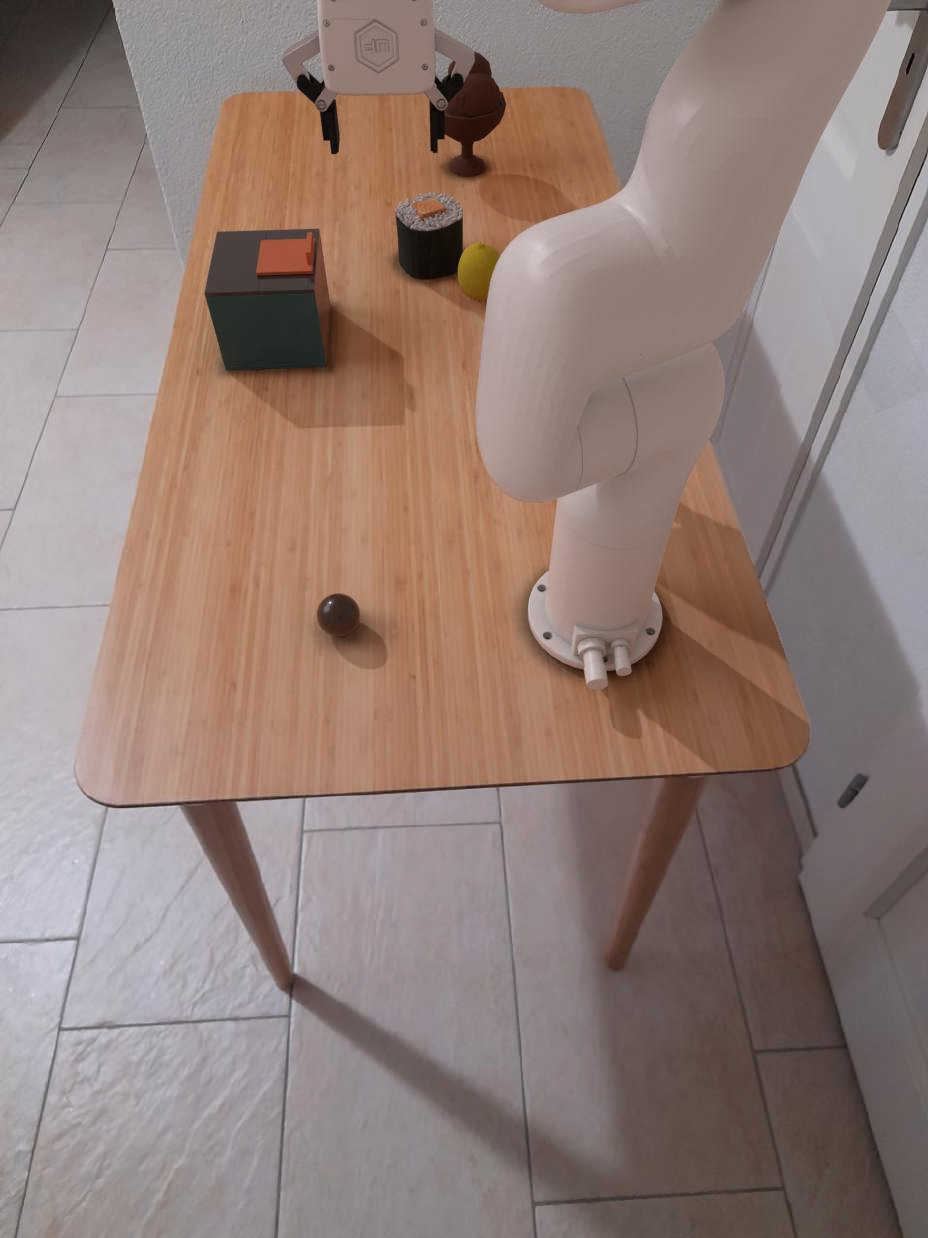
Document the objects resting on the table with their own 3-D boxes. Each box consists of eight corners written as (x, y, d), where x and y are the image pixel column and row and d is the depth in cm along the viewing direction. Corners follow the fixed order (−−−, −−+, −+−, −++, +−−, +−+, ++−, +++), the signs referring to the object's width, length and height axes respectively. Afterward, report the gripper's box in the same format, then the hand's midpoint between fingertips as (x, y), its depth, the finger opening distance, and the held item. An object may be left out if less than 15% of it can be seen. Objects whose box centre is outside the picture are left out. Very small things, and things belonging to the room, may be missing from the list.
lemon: (450, 306, 112) (449, 248, 105) (470, 283, 115) (470, 225, 108) (489, 319, 110) (490, 260, 104) (508, 295, 113) (511, 237, 107)
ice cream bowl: (418, 158, 133) (413, 48, 121) (485, 142, 136) (487, 33, 123) (447, 192, 127) (445, 81, 115) (516, 175, 130) (521, 64, 118)
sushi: (473, 268, 117) (473, 210, 110) (416, 286, 114) (413, 228, 108) (444, 238, 121) (443, 180, 114) (389, 254, 118) (385, 197, 112)
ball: (361, 643, 82) (357, 619, 79) (318, 645, 82) (312, 620, 79) (362, 609, 84) (358, 583, 81) (320, 610, 84) (314, 585, 81)
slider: (312, 273, 98) (310, 258, 97) (256, 275, 98) (253, 260, 96) (315, 241, 102) (313, 225, 100) (261, 242, 102) (258, 227, 100)
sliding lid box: (326, 366, 105) (314, 289, 96) (225, 370, 105) (204, 292, 96) (330, 305, 112) (319, 228, 103) (236, 308, 112) (216, 231, 103)
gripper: (260, -45, 70) (293, 168, 84) (478, -46, 70) (474, 166, 84) (268, -82, 74) (298, 127, 88) (474, -83, 74) (471, 125, 89)
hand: (384, 146), depth 86 cm, fingers open, 9 cm apart
